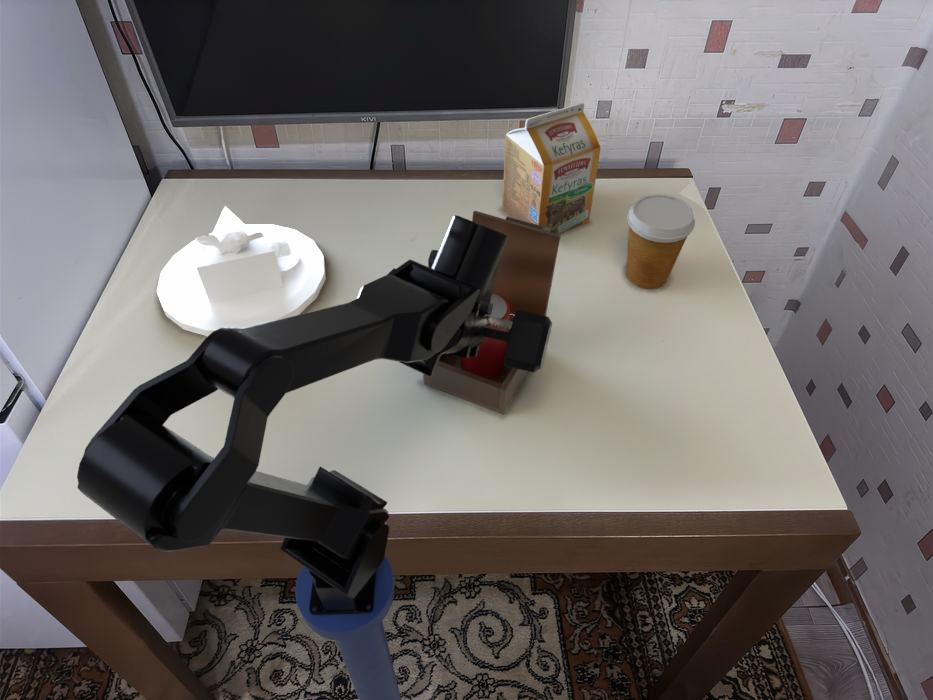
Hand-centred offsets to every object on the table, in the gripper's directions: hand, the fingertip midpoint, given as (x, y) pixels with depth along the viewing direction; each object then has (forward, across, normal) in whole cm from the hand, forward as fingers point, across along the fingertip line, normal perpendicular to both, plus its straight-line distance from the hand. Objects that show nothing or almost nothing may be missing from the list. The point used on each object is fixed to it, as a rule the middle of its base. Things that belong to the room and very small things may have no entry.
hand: (479, 328), depth 83 cm
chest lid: (+5, -1, -8) cm, 10 cm away
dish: (+12, +40, +1) cm, 42 cm away
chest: (+8, 0, +5) cm, 10 cm away
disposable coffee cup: (+27, -18, -13) cm, 35 cm away
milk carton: (+34, 0, -20) cm, 40 cm away
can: (+8, 0, +5) cm, 9 cm away
